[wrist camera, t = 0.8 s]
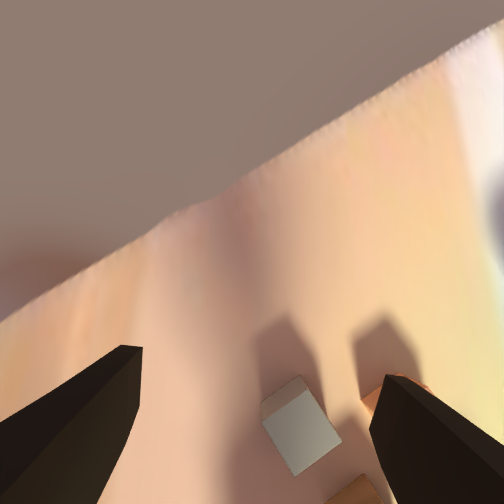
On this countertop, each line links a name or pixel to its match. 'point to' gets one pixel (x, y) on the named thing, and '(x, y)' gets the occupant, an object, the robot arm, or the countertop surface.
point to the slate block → (298, 426)
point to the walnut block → (357, 493)
